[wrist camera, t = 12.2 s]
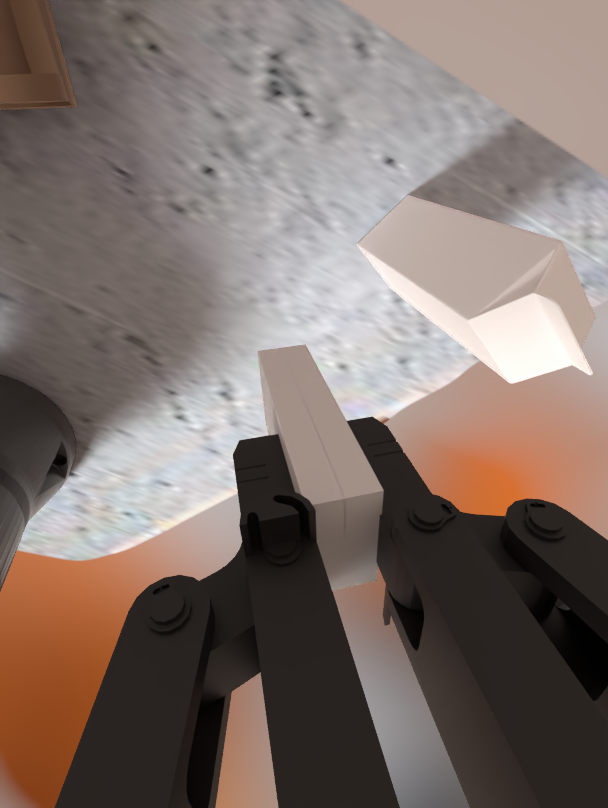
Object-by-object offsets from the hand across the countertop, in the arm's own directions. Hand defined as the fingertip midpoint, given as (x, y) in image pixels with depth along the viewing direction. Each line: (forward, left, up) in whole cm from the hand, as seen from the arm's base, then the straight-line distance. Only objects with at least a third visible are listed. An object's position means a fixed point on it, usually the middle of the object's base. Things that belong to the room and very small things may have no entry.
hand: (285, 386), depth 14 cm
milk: (+12, -10, -27) cm, 31 cm away
